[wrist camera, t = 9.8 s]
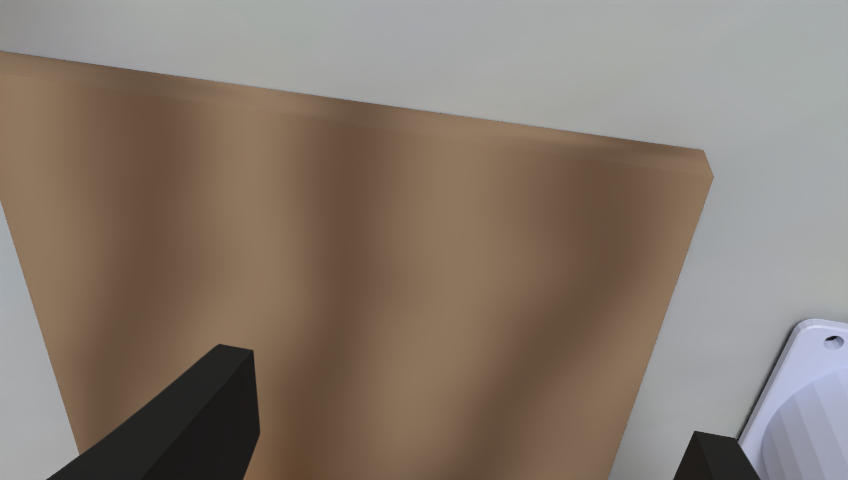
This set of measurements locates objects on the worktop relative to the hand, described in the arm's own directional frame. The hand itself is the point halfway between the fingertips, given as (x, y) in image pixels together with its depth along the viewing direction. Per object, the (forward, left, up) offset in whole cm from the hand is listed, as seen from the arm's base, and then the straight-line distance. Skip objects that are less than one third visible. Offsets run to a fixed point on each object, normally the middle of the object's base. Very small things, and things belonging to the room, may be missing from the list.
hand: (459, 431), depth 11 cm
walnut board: (+5, +11, -9) cm, 15 cm away
